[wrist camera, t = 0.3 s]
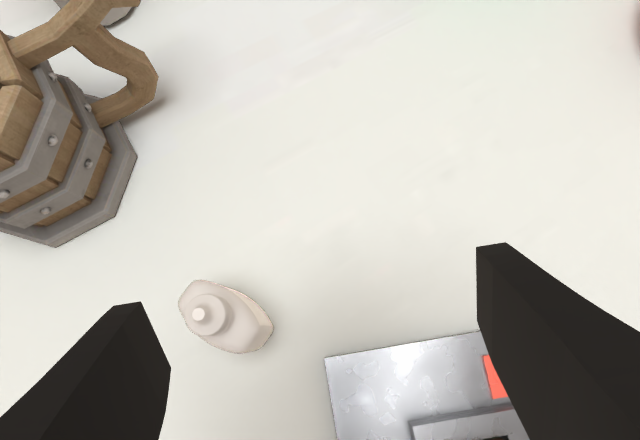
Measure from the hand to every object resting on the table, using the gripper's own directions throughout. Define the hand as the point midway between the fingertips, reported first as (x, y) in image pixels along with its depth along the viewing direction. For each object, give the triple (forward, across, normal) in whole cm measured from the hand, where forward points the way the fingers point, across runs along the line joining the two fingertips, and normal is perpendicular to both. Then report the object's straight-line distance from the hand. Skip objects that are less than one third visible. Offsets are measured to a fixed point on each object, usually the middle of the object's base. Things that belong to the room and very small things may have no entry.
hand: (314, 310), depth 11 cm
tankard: (+32, +19, +6) cm, 38 cm away
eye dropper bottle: (+22, +8, +18) cm, 30 cm away
